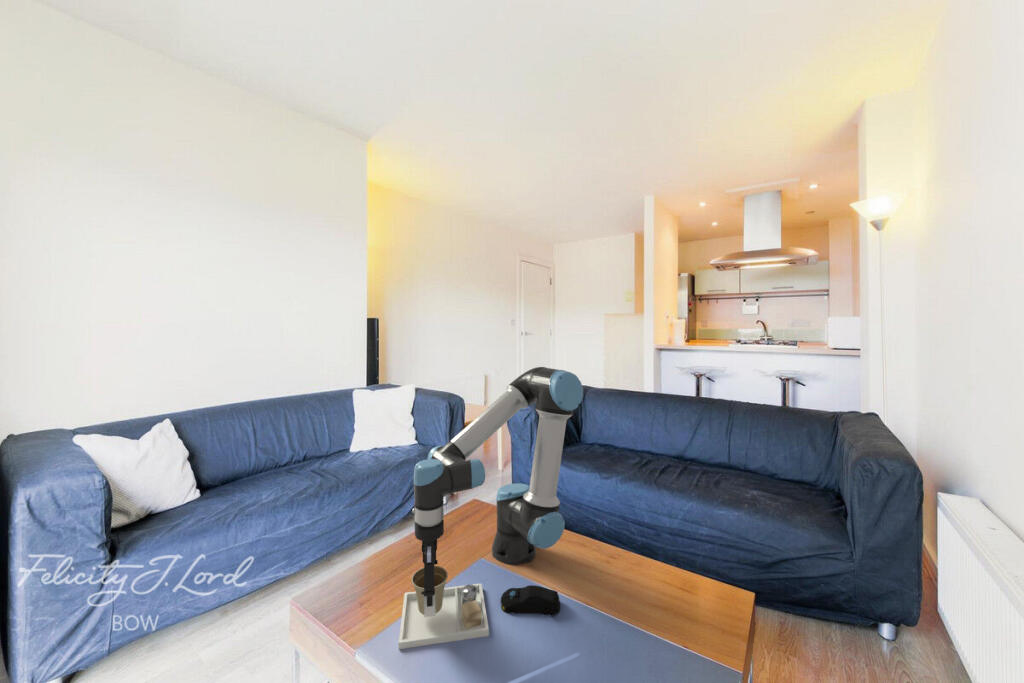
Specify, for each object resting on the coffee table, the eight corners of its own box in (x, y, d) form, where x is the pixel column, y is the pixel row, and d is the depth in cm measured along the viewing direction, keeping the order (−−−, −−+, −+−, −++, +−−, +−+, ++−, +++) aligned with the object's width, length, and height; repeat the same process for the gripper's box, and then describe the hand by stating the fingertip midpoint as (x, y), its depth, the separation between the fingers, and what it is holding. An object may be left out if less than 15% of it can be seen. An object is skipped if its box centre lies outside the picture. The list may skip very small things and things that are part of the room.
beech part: (475, 614, 109) (475, 600, 108) (481, 624, 105) (480, 609, 105) (461, 619, 107) (461, 604, 107) (466, 629, 103) (466, 614, 103)
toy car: (501, 596, 117) (501, 580, 116) (559, 599, 115) (559, 582, 115) (499, 616, 109) (499, 598, 109) (560, 618, 108) (560, 601, 108)
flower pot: (440, 623, 102) (439, 590, 101) (405, 618, 104) (405, 585, 103) (453, 598, 111) (452, 567, 110) (421, 593, 113) (420, 563, 112)
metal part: (474, 596, 115) (474, 583, 115) (478, 606, 112) (478, 592, 111) (460, 600, 114) (460, 586, 113) (464, 610, 110) (464, 596, 110)
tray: (481, 590, 119) (481, 583, 119) (488, 638, 101) (488, 629, 101) (404, 600, 115) (404, 592, 115) (398, 651, 97) (398, 642, 97)
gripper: (416, 502, 116) (418, 577, 117) (411, 544, 94) (413, 636, 96) (443, 500, 117) (444, 574, 119) (444, 541, 96) (445, 631, 97)
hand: (430, 601), depth 107 cm, fingers closed on flower pot, 9 cm apart
